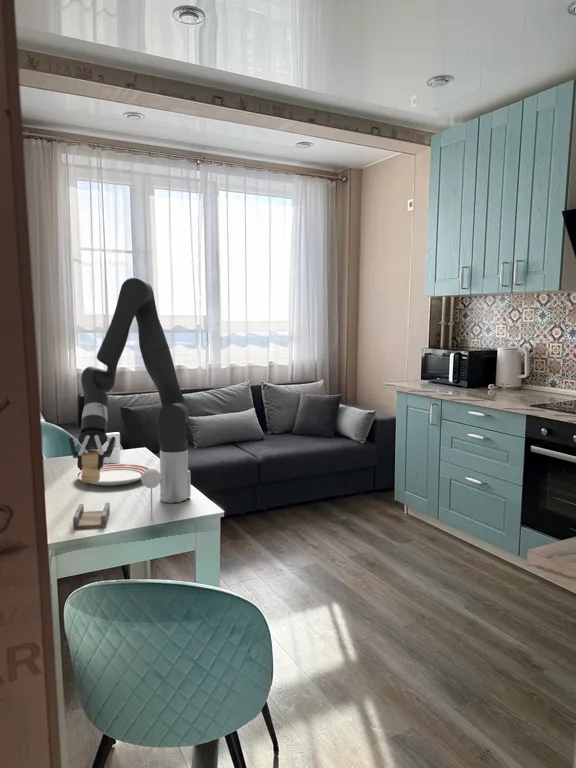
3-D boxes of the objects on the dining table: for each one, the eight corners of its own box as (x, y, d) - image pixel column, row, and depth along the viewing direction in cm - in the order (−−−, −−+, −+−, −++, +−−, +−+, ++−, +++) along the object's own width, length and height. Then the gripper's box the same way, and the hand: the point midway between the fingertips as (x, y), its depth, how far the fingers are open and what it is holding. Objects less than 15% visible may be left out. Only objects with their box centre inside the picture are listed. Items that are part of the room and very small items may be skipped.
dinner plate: (74, 473, 218) (74, 465, 218) (145, 467, 228) (145, 459, 228) (76, 493, 193) (76, 484, 192) (156, 486, 203) (156, 477, 203)
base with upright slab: (116, 457, 242) (115, 430, 241) (123, 462, 235) (122, 434, 234) (95, 460, 237) (94, 433, 236) (101, 465, 230) (101, 436, 229)
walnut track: (79, 515, 172) (79, 504, 171) (109, 513, 173) (109, 502, 173) (73, 529, 160) (73, 517, 160) (105, 527, 162) (105, 515, 161)
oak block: (84, 478, 167) (83, 452, 166) (99, 478, 168) (99, 452, 167) (82, 482, 163) (81, 455, 162) (98, 482, 164) (97, 455, 163)
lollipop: (141, 520, 168) (140, 472, 166) (141, 514, 173) (140, 467, 172) (162, 519, 170) (162, 471, 168) (161, 512, 175) (161, 466, 173)
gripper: (68, 414, 169) (62, 463, 159) (117, 413, 172) (114, 461, 162) (71, 427, 175) (65, 475, 164) (119, 427, 178) (116, 474, 167)
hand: (90, 468), depth 163 cm, fingers closed on oak block, 4 cm apart
